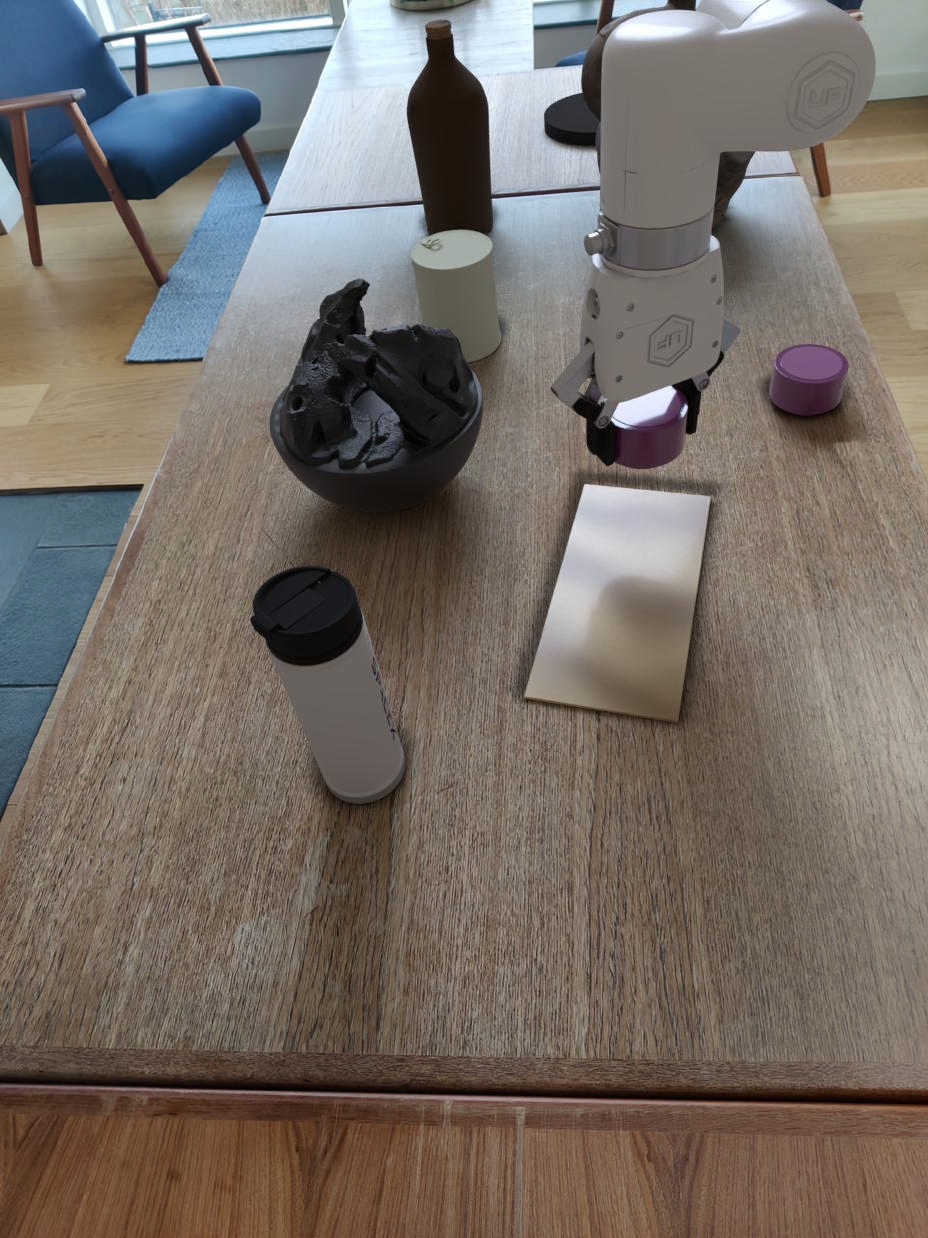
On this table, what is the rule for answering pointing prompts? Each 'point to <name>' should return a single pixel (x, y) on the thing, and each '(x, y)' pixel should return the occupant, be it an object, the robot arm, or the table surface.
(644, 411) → the purple short cylinder
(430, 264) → the can
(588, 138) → the wireless charger
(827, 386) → the purple short cylinder
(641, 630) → the beige metallic rectangular plate
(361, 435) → the coal bowl
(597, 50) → the vessel
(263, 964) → the table surface
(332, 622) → the travel mug
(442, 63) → the olive oil
